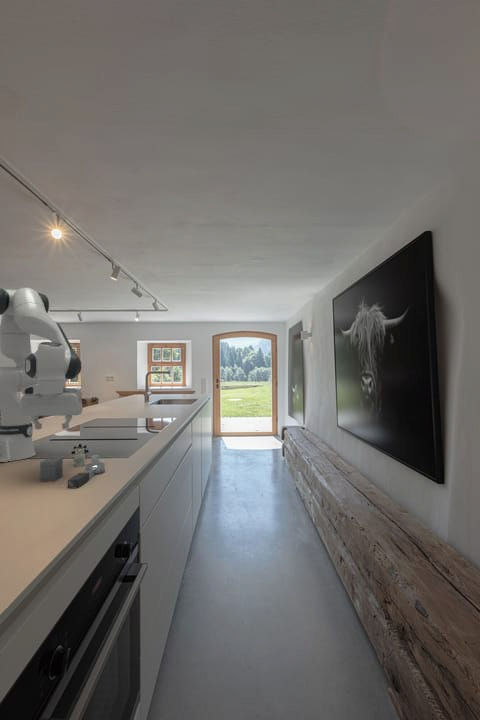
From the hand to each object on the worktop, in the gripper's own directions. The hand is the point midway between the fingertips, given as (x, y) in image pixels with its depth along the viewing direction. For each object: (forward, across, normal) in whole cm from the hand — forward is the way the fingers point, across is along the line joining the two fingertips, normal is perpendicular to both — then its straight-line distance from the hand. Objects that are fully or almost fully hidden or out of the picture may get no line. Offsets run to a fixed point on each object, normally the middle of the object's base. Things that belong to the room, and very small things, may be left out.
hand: (51, 428), depth 121 cm
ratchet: (+17, -12, -1) cm, 21 cm away
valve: (+17, 0, -20) cm, 27 cm away
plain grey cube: (+17, 0, 0) cm, 17 cm away
